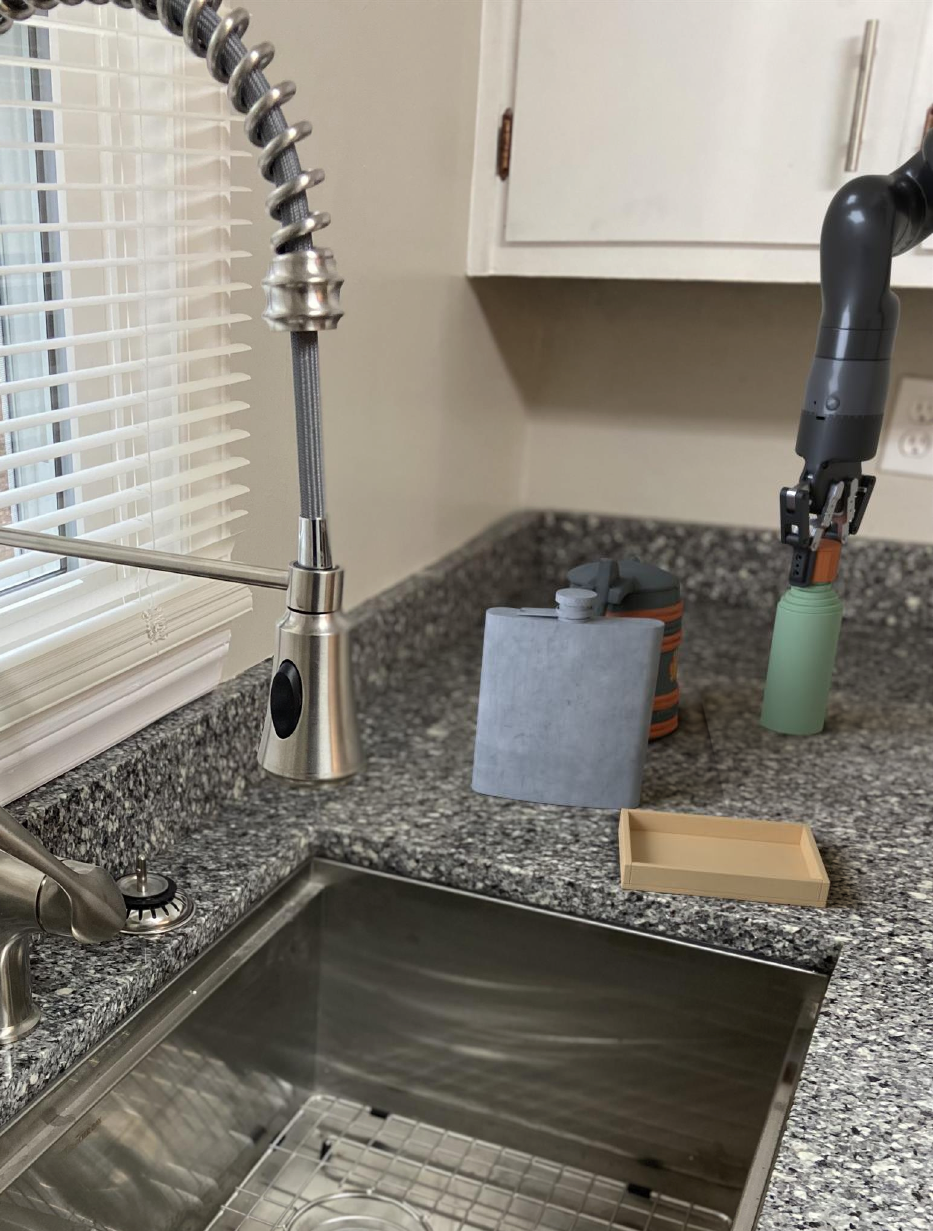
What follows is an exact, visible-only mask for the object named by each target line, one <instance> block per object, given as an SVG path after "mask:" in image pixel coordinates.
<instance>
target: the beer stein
mask: <svg viewBox="0 0 933 1231" xmlns="http://www.w3.org/2000/svg"><path fill="white" fill-rule="evenodd" d="M566 578H567V580H568V581H569V582H570V585H569V588H577V589H586V590H591V591H594V592H595V593H597V600H596V604H594V605H591V606H592V607H593V610H592V616H604V617H626V618H650V619H656V620H660V621H662V622H664V624H665V626H664V633H663V640H662V647H661V654H660V661H659V668H658V675H657V682H656V689H655V696H654V703H653V710H652V717H651V724H650V731H649V738H648V742H650V741H655V740H658V739H660V738H663V737H665V736H667V735H670V733H672V732H674V730H675V729H677V727H678V723H679V721H678V716H679V714H678V710H679V709H678V708H679V701H680V700H679V699H680V684H679V683H678V681H677V680H678V678H677V676H678V655H679V654H678V653H679V652H678V651H679V646H680V645H681V644H682V640H683V639H682V634H683V628H682V626H683V623H682V622H683V607H684V601H683V599H682V598H681V582H680V580H679V577H677V576H676V575H674V574H673V573H671V572H669V571H667V570H665V569H663V568H660V567H657V566H656V565H652V564H649V563H645V562H641V560H640V559H639V557H638V556H635V555H634V556H632V557H631V558H630V559H628V560H616V559H613V558H609V557H602V558H600V560H599V561H594V562H589V563H585V564H582V565H581V564H580V565H579V566H576V567H574V568H572V569H570V570H569V571H568V572H566Z"/></svg>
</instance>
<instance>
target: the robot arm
mask: <svg viewBox="0 0 933 1231" xmlns="http://www.w3.org/2000/svg"><path fill="white" fill-rule="evenodd" d="M931 235H933V126H932V127H930V128H929V130H928V131H927V132H926V134H925V136H924V138H923V141H922V146H921V147H920V149H919V150H918V151H916V153H914V154H913V155H912V156H911V157H910V158H909V159H908V160H907V161H905V162H904V163H903V164H901V166H899V167H897V168H896V169H895V170H893V171H892V172H890V173H889V174H864V175H859V176H857V177H854V178H852V179H850V180H849V181H847V182H846V183H844V184H843V185H842V186H841V187H840V188H839V190H837V191H836V192H835V194H834V195H833V197H832V198H831V200H830V203H829V204H828V207H827V209H826V212H825V215H824V218H823V221H822V226H821V232H820V238H819V239H820V240H819V279H820V280H819V281H820V284H819V285H820V294H821V296H820V297H821V312H820V317H819V321H818V326H817V332H816V338H815V343H814V344H815V345H814V350H813V356H812V361H811V364H810V368H809V371H808V374H807V378H806V381H805V387H804V393H803V399H802V405H801V410H800V416H799V417H800V418H799V424H798V430H797V433H796V434H797V435H796V441H795V447H794V451H795V454H796V455H797V456H798V457H800V458H803V460H804V465H803V468H802V471H801V473H800V475H799V478H798V483H796V484H795V485H794V486H793V487H789V486H783V487H782V488H781V489H780V491H779V517H780V519H779V520H780V521H779V524H780V525H779V526H780V527H779V528H780V543H781V544H784V545H789V546H790V547H791V548H792V550H793V552H792V558H791V563H790V570H789V576H788V584H789V585H790V587H792V586H796V587H800V588H807V587H810V586H811V584H812V579H813V574H814V568H815V563H816V557H817V552H818V551H816V549H817V548H818V545H819V542H820V539H830V540H834V541H838V542H840V543H841V550H842V548H843V545H844V544H846V543H847V541H848V539H849V536H850V535H851V536H855V535H857V534H858V532H859V530H860V526H861V525H862V522H863V519H864V516H865V513H866V510H867V508H868V505H869V501H870V500H871V496H872V494H873V492H874V488H875V485H876V482H877V477H876V475H871V474H864V473H863V468H862V467H863V466H862V462H863V463H864V462H869V461H871V460H873V459H874V458H875V457H876V456H877V453H878V447H879V443H880V437H881V432H882V427H883V421H884V416H885V411H886V406H887V401H888V396H889V391H890V384H891V370H892V361H893V359H892V357H893V354H894V349H895V344H896V338H897V334H898V330H899V324H900V323H899V322H900V316H901V300H900V297H899V296H898V295H897V294H896V293H895V292H893V291H892V288H891V278H892V265H893V259H894V258H896V257H899V256H902V255H903V254H905V253H907V252H909V251H910V250H912V249H913V248H915V247H917V246H919V245H920V244H921V243H922V242H924V241H925V240H926V239H928V238H929V237H930V236H931ZM810 514H811V515H816V517H812V516H810ZM793 526H794V527H793ZM810 526H812V530H811V529H810ZM810 530H811V532H810ZM841 554H842V552H841V553H840V555H841ZM840 558H841V557H840ZM840 558H839V560H840ZM838 569H839V568H838ZM838 569H837V571H838Z"/></svg>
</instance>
